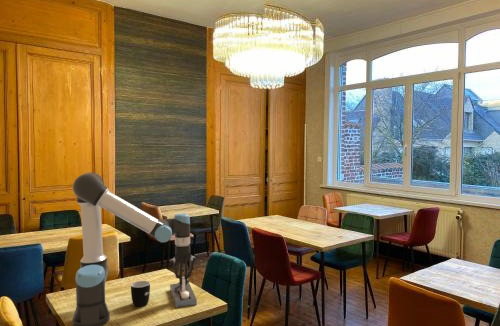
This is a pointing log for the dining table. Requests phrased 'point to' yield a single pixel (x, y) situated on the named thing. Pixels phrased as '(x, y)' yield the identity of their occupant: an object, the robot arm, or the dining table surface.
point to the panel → (177, 296)
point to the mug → (140, 293)
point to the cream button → (184, 295)
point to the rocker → (179, 285)
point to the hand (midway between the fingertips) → (183, 291)
